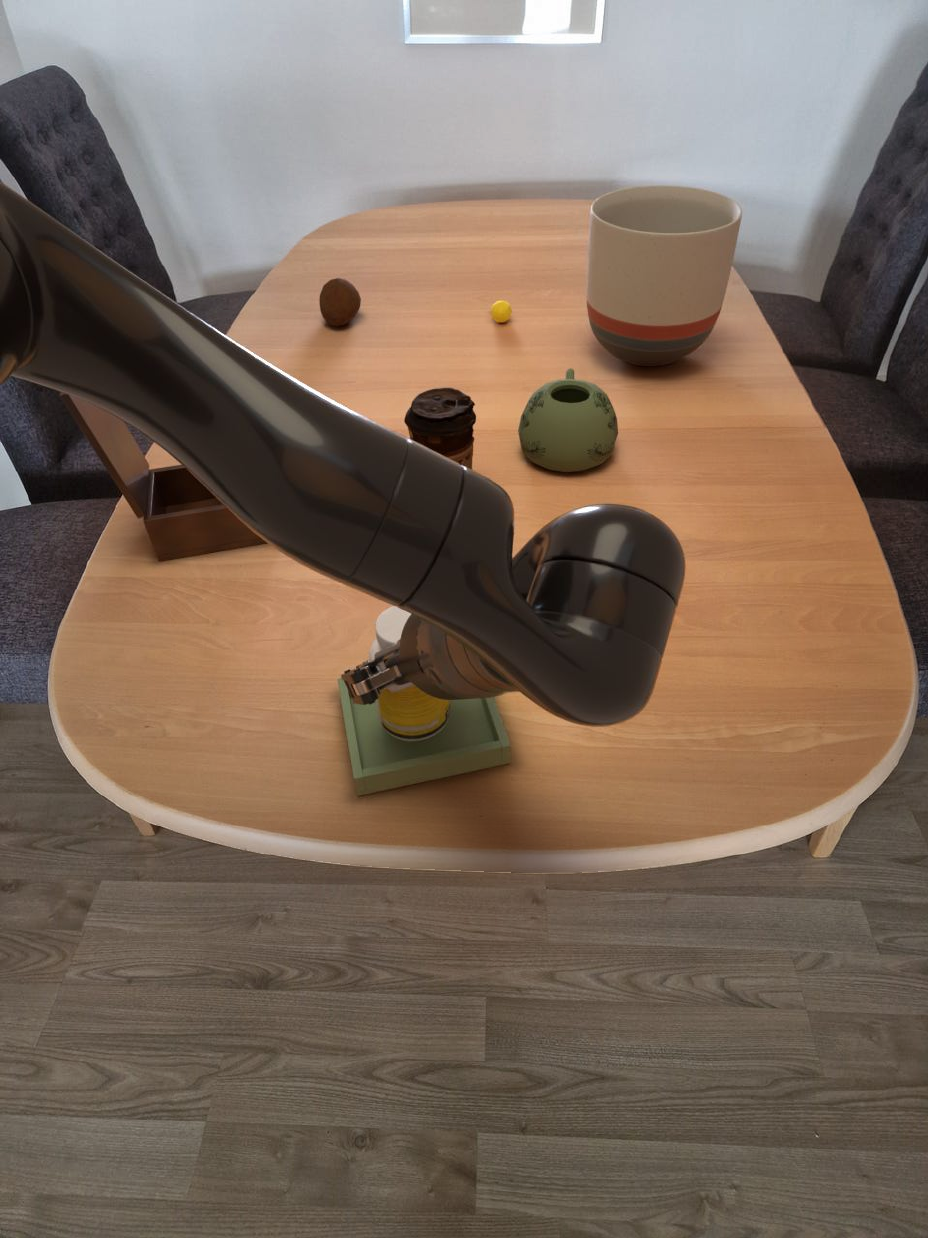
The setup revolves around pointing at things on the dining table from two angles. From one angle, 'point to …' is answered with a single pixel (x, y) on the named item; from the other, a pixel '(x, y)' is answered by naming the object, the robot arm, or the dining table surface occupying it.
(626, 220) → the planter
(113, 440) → the lid
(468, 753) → the tray
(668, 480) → the dining table surface
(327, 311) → the potato
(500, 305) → the yellow rounded lump
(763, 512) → the dining table surface
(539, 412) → the green ceramic domed vessel
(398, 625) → the pill bottle
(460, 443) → the coffee cup
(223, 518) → the brown wooden box
